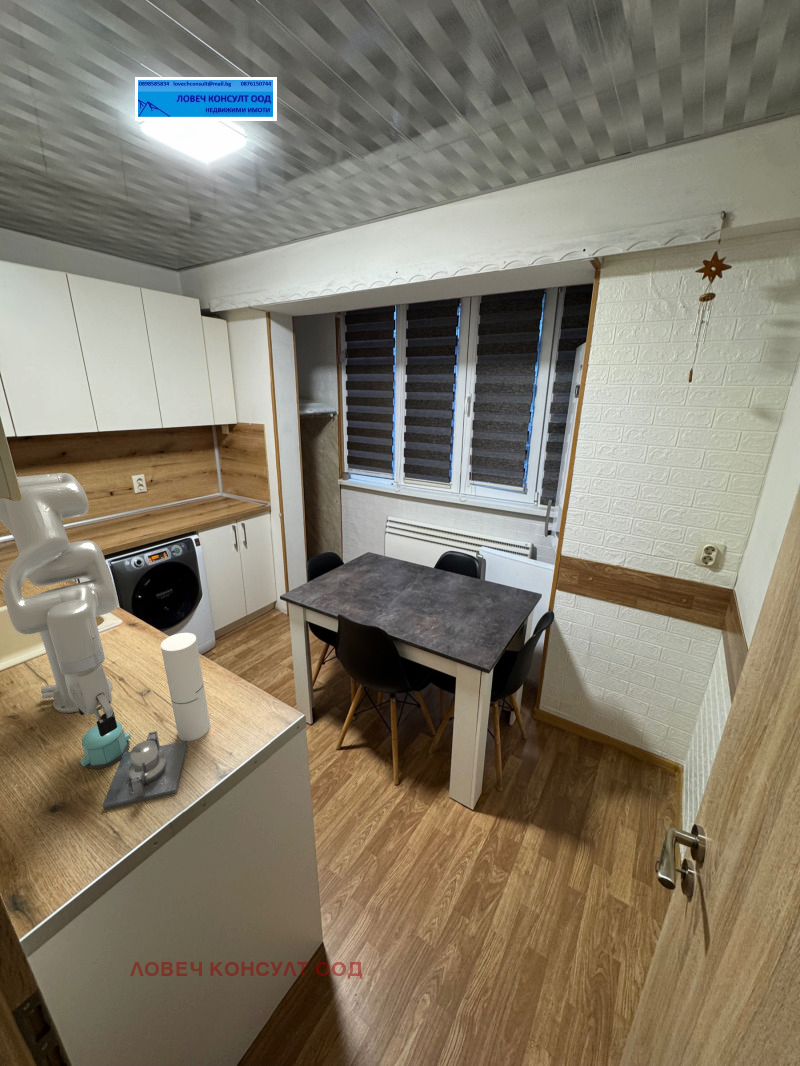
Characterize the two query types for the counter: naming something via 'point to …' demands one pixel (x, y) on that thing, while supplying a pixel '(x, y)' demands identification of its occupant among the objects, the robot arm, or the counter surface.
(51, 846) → the counter surface
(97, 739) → the cap
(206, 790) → the counter surface
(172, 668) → the cylindrical container
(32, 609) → the robot arm
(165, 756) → the grey square base plate
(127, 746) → the coaster
